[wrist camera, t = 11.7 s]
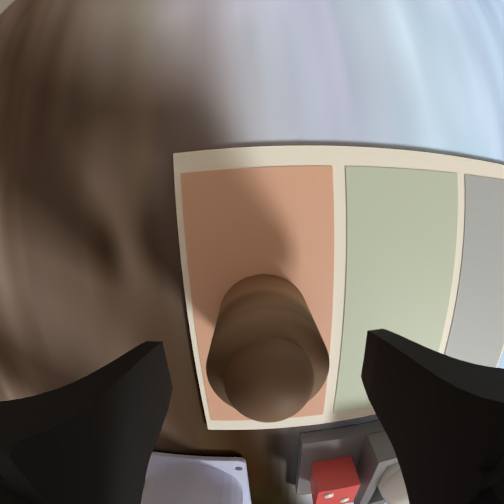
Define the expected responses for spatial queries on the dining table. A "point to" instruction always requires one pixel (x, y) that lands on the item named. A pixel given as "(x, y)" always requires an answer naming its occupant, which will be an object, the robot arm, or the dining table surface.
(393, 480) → the dome
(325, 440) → the grey open box
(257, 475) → the dining table surface
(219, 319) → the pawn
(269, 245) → the game board
